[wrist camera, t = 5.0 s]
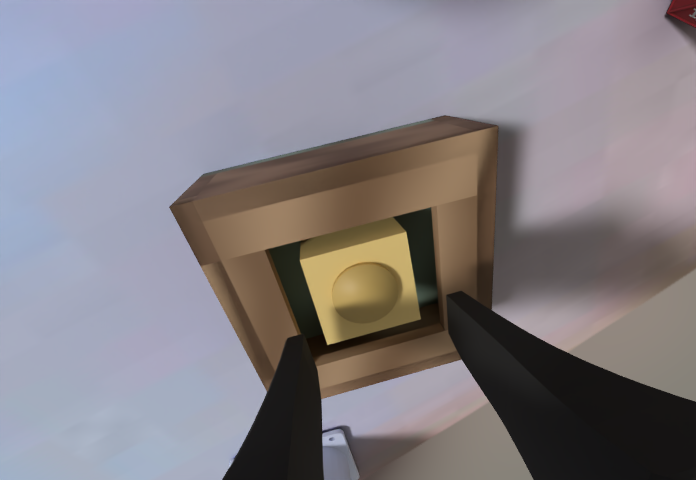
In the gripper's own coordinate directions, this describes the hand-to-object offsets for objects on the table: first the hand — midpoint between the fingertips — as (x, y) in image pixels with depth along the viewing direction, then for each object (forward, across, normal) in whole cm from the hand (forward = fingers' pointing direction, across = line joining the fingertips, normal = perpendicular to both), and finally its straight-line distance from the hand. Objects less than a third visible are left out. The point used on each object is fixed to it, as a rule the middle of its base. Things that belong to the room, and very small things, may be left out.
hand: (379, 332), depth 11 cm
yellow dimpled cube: (+6, 0, 0) cm, 6 cm away
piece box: (+7, 0, 0) cm, 7 cm away
